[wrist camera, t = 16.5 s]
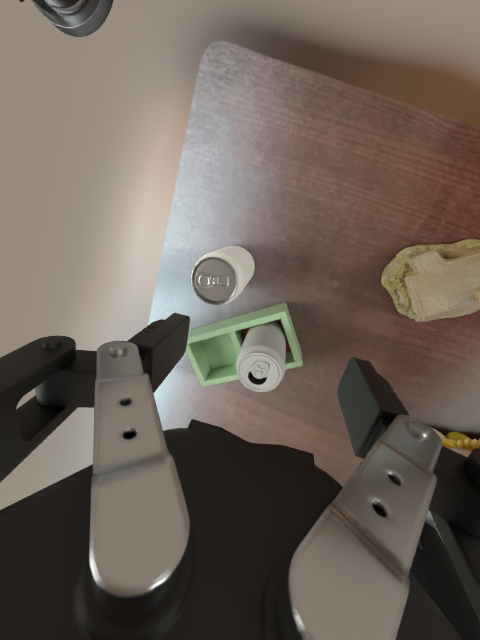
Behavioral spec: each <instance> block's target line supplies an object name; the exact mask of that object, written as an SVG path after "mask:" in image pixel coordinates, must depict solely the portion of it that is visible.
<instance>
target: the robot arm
mask: <svg viewBox="0 0 480 640" xmlns="http://www.w3.org/2000/svg"><path fill="white" fill-rule="evenodd" d="M19 1H20V2H23V1H24V0H19ZM33 1H34V2H35V3H36V4H37V5H39V6H40V7H41V8H42V9H43V10H44V11H45V12H46V13H48V14H50V13H51V12H53V11H57V12H60V13H65V14H69V13H74V12H76V11H78V10H79V9H81V8H82V7H83V6H84V5H85V4H86V2H87V1H88V0H33ZM189 323H190V318H189V316H185V315H181V314H177V313H173V314H172V315H171V316H170V317H168V318H167V319H166V320H158V321H155V322H152V323H151V324H150V325H148V326H147V328H144V329H143V330H142V331H141V332H139V333H137V334H136V335H135V336H134V337H132V338H131V339H129V340H128V341H113V342H109V343H105V344H103V345H101V346H100V347H99V348H98V350H97V351H85V350H76V343H75V341H74V340H73V339H72V338H70V337H66V336H49V337H44V338H40V339H38V340H35V341H33V342H31V343H29V344H27V345H25V346H23V347H21V348H19V349H17V350H15V351H13V352H11V353H9V354H7V355H5V356H3V357H1V358H0V482H1V481H2V480H3V479H4V478H5V477H6V476H8V475H9V474H10V473H11V471H13V470H14V469H15V468H16V467H17V466H18V465H19V464H20V463H21V462H22V461H23V460H24V459H25V458H26V457H27V456H28V455H29V454H30V453H31V452H32V451H33V450H34V449H35V448H36V447H37V446H38V445H39V444H41V443H42V442H43V441H44V440H45V439H46V438H47V437H48V436H49V435H50V434H51V433H52V432H53V431H54V430H55V429H56V428H57V427H58V426H59V425H60V424H61V423H62V422H63V421H64V420H65V419H66V418H67V417H68V416H69V415H70V414H71V413H72V412H73V411H75V410H76V408H78V407H94V446H93V464H92V465H90V466H88V467H87V468H84V469H82V470H80V471H78V472H76V473H74V474H72V475H70V476H68V477H66V478H64V479H62V480H60V481H58V482H56V483H54V484H52V485H50V486H48V487H46V488H44V489H42V490H40V491H38V492H36V493H34V494H32V495H30V496H28V497H26V498H24V499H22V500H20V501H18V502H16V503H14V504H12V505H10V506H8V507H6V508H4V509H2V510H0V640H463V639H462V637H461V636H460V635H459V634H458V632H457V631H456V630H455V629H454V627H453V626H452V625H451V623H450V622H449V621H448V620H447V618H446V617H445V616H444V615H443V613H442V612H441V611H440V610H439V608H438V607H437V606H436V604H435V603H434V602H433V601H432V599H431V598H430V597H429V596H428V594H427V593H426V592H425V590H424V589H423V588H422V587H421V585H420V584H419V583H418V582H417V580H416V579H415V578H414V576H413V575H412V574H411V573H410V568H411V565H412V561H413V558H414V555H415V551H416V548H417V545H418V542H419V538H420V535H421V532H422V528H423V525H424V522H425V519H426V515H427V512H428V510H429V511H430V512H431V515H432V517H433V519H434V521H435V523H436V526H437V528H438V530H439V532H440V535H441V537H442V539H443V541H444V543H445V546H446V548H447V550H448V552H449V554H450V557H451V559H452V561H453V563H454V566H455V568H456V570H457V572H458V574H459V577H460V579H461V581H462V583H463V586H464V588H465V590H466V592H467V594H468V597H469V599H470V601H471V603H472V606H473V608H474V610H475V612H476V614H477V617H478V619H479V621H480V448H476V449H474V450H473V451H472V452H471V453H470V454H469V456H468V457H466V456H463V455H461V454H459V453H457V452H455V451H453V450H451V449H448V448H446V447H444V446H442V444H443V443H442V440H441V438H440V436H439V435H438V434H437V433H436V432H435V431H434V430H433V429H432V428H431V427H430V426H428V425H427V424H425V423H424V422H422V421H420V420H418V419H416V418H414V417H411V416H410V415H409V414H408V412H407V410H406V409H405V407H404V406H403V404H402V403H401V401H400V400H399V398H397V395H396V393H395V392H393V389H392V387H391V386H390V384H389V383H388V382H387V381H386V380H385V379H384V378H383V377H382V376H380V375H379V374H377V372H376V371H375V369H374V368H373V366H372V364H371V363H370V362H369V361H365V360H361V359H357V358H351V359H350V360H349V362H348V364H347V367H346V369H345V372H344V374H343V376H342V379H341V381H340V383H339V386H338V399H339V403H340V406H341V409H342V413H343V416H344V419H345V423H346V426H347V429H348V433H349V436H350V439H351V443H352V446H353V449H354V453H355V456H357V457H360V458H364V459H363V461H362V462H361V463H360V465H359V466H358V468H357V469H356V470H355V472H354V473H353V475H352V476H351V477H350V479H349V480H348V481H347V483H346V484H345V486H344V487H342V486H341V485H340V484H339V483H338V482H337V481H336V480H335V479H334V478H332V477H331V476H330V475H329V474H327V473H326V472H325V471H323V470H321V469H320V468H318V467H316V466H315V464H314V455H313V454H312V453H308V452H305V451H301V450H298V449H294V448H291V447H287V446H284V445H272V444H256V443H249V442H247V441H245V440H243V439H241V438H240V437H238V436H236V435H234V434H232V433H230V432H228V431H226V430H225V429H223V428H221V427H218V426H214V425H211V424H207V423H204V422H200V421H197V420H193V419H192V420H191V422H190V424H189V426H188V428H176V429H169V430H165V431H163V429H162V425H161V422H160V418H159V414H158V410H157V406H156V402H155V398H154V394H153V393H154V392H155V391H156V389H157V388H158V387H159V386H160V384H161V383H162V382H163V381H164V379H165V378H166V377H167V375H168V374H169V373H170V372H171V370H172V369H173V368H174V367H175V365H176V364H177V363H178V361H179V360H180V359H181V358H182V356H183V355H184V353H185V350H186V347H187V340H188V332H189ZM34 388H35V391H36V395H35V396H34V397H33V398H31V399H30V400H29V401H27V402H26V403H25V404H23V405H22V406H21V407H19V408H18V409H17V410H16V407H17V404H18V402H19V401H20V399H21V398H22V397H23V396H24V395H25V394H27V393H28V392H30V391H31V390H32V389H34Z"/></svg>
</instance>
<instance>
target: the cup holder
mask: <svg viewBox="0 0 480 640" xmlns="http://www.w3.org/2000/svg"><path fill="white" fill-rule="evenodd" d="M271 321H276V322H278V323H279V324H280V325H281V326H282V327H283V329H284V331H285V334H286V355H285V369H290V368H295V367H300V366H303V363H302V353H301V349H300V346H299V343H298V339H297V336H296V333H295V330H294V327H293V323H292V320H291V317H290V314H289V311H288V307H287V304H286V302H285V303H281V304H278V305H274V306H271V307H267V308H264V309H260V310H257V311H253V312H250V313H247V314H243V315H240V316H236V317H233V318H229V319H226V320H222V321H219V322H215V323H212V324H208V325H205V326H201V327H198V328H194V329H191V330H190V331H189V332H188V340H187V347H186V352H187V355H188V357H189V359H190V361H191V363H192V366H193V368H194V370H195V372H196V374H197V376H198V379H199V381H200V383H201V385H202V387H203V386H208V385H213V384H218V383H223V382H228V381H232V380H237V379H239V378H238V375H237V370H236V361H237V358H238V355H239V353H240V350H241V348H242V345H243V343H244V340H245V338H246V335H247V333H248V330H249V328H250V327H252V326H256V325H260V324H264V323H267V322H271Z"/></svg>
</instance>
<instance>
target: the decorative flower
mask: <svg viewBox="0 0 480 640" xmlns="http://www.w3.org/2000/svg"><path fill="white" fill-rule="evenodd" d="M432 429H433V430H434V431H435V432H436V433H437V434H438V435H439V436H440V438H441V440H442V443H443V444H442V446H444V447H446V448H448V449H451V450H453V451H455V452H457V453H459V454H461V455H463V456H466V457H468V456H469V454H470V453H471V452H472V451H473V450H474V449H476V448H480V439H479V440H478V441H477V440H476V438H475V439H473V440H472V439H470V438H469V437H467V436H466V435H464V434H461V433H459V432H450V433H448V434H447V435H445V436H444V435H442V434H441V433H440V432H438V431H437V430H435V429H434V428H432Z"/></svg>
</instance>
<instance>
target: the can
mask: <svg viewBox="0 0 480 640" xmlns="http://www.w3.org/2000/svg"><path fill="white" fill-rule="evenodd" d="M254 269H255V264H254V260H253V258H252V256H251V254H250V253H249V252H248V251H247V250H246V249H244V248H242V247H239V246H229V247H225V248H222V249H219V250H216V251H213V252H210V253H207V254H205V255H204V256H202V257H201V258H200V259H199V260H198V261H197V263H196V264H195V267H194V269H193V271H192V274H191V284H192V287H193V290H194V292H195V293H196V295H197V296H198V297H199V298H200V299H201V300H203V301H204V302H206V303H208V304H212V305H220V304H226V303H229V302H231V301H233V300H234V299H235V298H237V297H238V296H239V294H240V293H241V292H242V291H243V289H244V288H245V287H246V285H247V284H248V282H249V281H250V280H251V278H252V276H253V274H254Z"/></svg>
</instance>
